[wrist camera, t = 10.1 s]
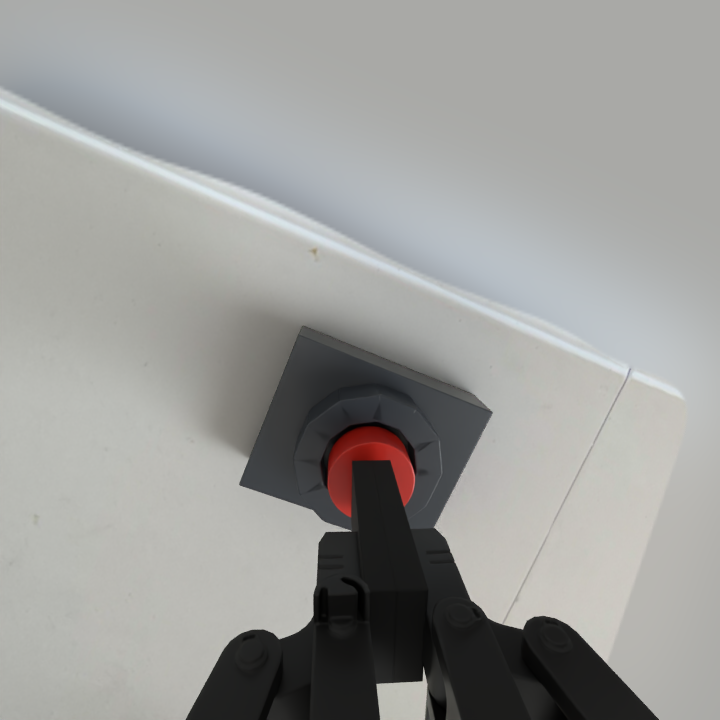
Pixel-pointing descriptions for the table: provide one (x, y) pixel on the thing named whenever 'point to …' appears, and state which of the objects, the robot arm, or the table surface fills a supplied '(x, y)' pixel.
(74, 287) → the table surface
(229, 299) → the table surface
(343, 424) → the grey square base
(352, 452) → the button
